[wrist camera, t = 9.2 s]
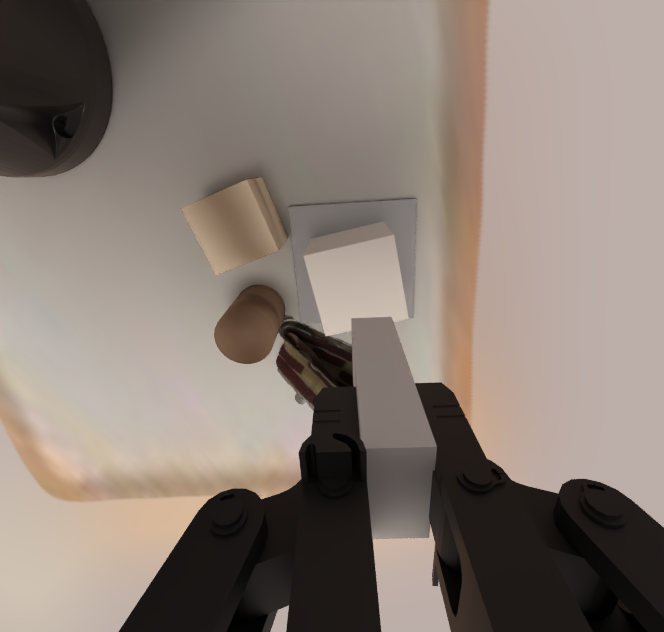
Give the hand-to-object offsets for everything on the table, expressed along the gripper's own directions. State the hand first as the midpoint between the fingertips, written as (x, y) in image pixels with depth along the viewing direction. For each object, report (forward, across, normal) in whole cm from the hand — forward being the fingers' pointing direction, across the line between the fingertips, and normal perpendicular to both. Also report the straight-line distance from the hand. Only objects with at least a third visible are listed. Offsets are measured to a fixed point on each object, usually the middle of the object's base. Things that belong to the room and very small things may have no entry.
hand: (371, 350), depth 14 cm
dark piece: (+18, -3, -12) cm, 22 cm away
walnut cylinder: (+18, -8, -5) cm, 20 cm away
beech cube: (+18, -8, +3) cm, 20 cm away
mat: (+18, 0, -1) cm, 18 cm away
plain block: (+17, 0, -1) cm, 17 cm away
